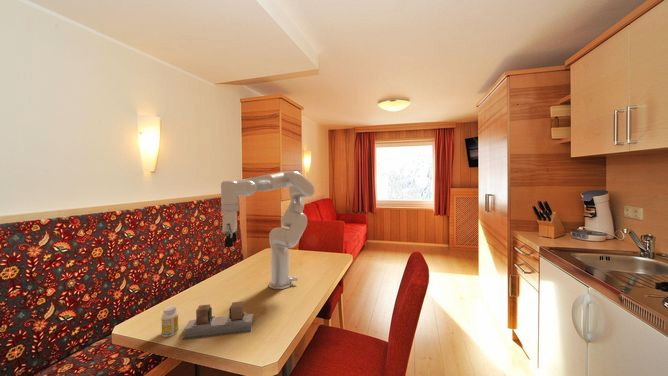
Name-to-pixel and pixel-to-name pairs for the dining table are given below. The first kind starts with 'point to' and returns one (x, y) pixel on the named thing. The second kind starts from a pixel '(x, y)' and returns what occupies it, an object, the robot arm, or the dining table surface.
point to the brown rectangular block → (203, 314)
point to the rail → (221, 324)
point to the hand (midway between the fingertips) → (231, 244)
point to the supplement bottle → (169, 321)
